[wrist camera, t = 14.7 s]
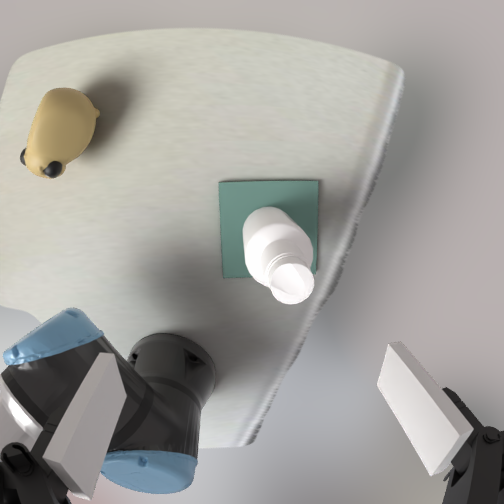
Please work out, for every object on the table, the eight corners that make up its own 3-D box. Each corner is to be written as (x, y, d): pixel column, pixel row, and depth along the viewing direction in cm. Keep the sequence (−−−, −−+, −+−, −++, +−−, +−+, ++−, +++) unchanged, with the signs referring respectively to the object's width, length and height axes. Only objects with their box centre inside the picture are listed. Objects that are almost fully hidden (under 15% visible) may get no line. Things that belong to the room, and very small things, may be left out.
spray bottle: (269, 266, 41) (292, 338, 24) (231, 234, 40) (228, 289, 22) (303, 229, 40) (352, 279, 23) (266, 195, 38) (291, 221, 21)
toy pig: (38, 158, 35) (-5, 161, 25) (72, 87, 33) (32, 72, 23) (82, 185, 37) (41, 193, 27) (119, 109, 35) (85, 95, 24)
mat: (314, 271, 43) (315, 274, 42) (223, 275, 42) (223, 278, 41) (316, 180, 39) (318, 181, 38) (219, 182, 38) (218, 182, 38)
